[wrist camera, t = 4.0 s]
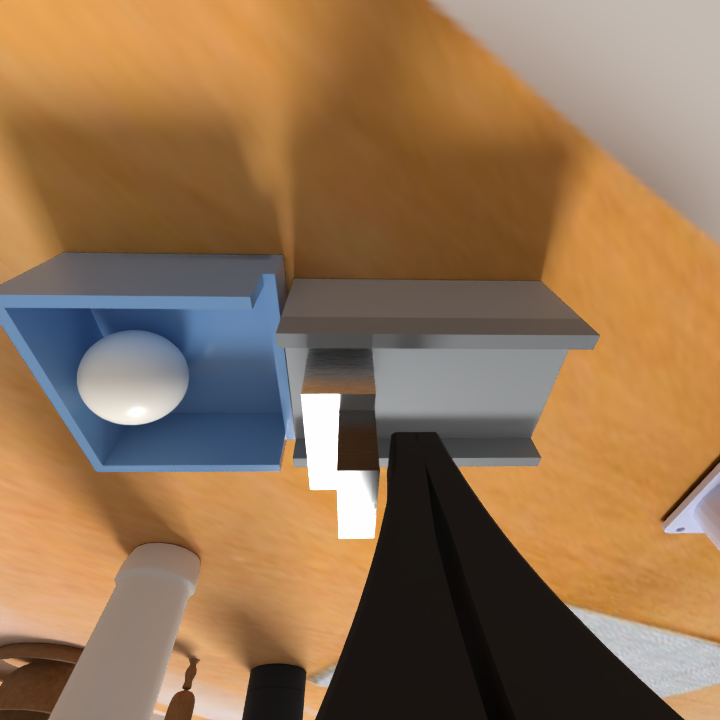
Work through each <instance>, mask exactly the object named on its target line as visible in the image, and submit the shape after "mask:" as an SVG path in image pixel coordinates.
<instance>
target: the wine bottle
mask: <svg viewBox="0 0 720 720" xmlns="http://www.w3.org/2000/svg"><path fill="white" fill-rule="evenodd" d="M305 683H306V672H305V671H304V669H302V668H300V667H296V666H292V665H285V664H271V665H263V666H259V667H256V668H254V669H253V670H252V671H251V673H250V678H249V684H248V690H247V695H246V701H245V707H244V712H243V718H242V720H303V708H304V694H305Z"/></svg>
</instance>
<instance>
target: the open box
mask: <svg viewBox="0 0 720 720" xmlns="http://www.w3.org/2000/svg"><path fill="white" fill-rule="evenodd" d="M287 298H288V294H287V285H286V275H285V266H284V256H283V255H244V254H162V253H80V252H63V253H62V254H60V255H58V256H56V257H54V258H52V259H50V260H48V261H46V262H44V263H42V264H40V265H38V266H36V267H34V268H32V269H30V270H28V271H26V272H24V273H22V274H20V275H19V276H17V277H15V278H13V279H11V280H9V281H7V282H5V283H3V284H1V285H0V324H1V326H2V327H3V329H4V330H5V332H6V333H7V335H8V337H9V338H10V340H11V341H12V343H13V344H14V346H15V347H16V349H17V350H18V352H19V354H20V355H21V357H22V358H23V360H24V361H25V363H26V364H27V366H28V367H29V369H30V370H31V372H32V374H33V375H34V377H35V378H36V380H37V381H38V383H39V384H40V386H41V387H42V389H43V391H44V392H45V394H46V395H47V397H48V398H49V400H50V401H51V403H52V404H53V406H54V408H55V409H56V411H57V412H58V414H59V415H60V417H61V418H62V420H63V421H64V423H65V424H66V426H67V428H68V429H69V431H70V432H71V434H72V435H73V437H74V438H75V440H76V441H77V443H78V445H79V446H80V448H81V449H82V451H83V452H84V454H85V455H86V457H87V458H88V460H89V461H90V463H91V465H92V466H93V468H94V469H95V471H96V472H215V471H281V465H282V460H283V455H284V450H285V445H286V440H295V439H296V433H295V425H294V417H293V409H292V401H291V392H290V384H289V376H288V368H287V360H286V352H285V348H278V347H277V340H276V331H277V328H278V325H279V322H280V319H281V316H282V313H283V310H284V307H285V304H286V301H287ZM127 330H142V331H148V332H152V333H155V334H158V335H160V336H162V337H164V338H166V339H168V340H169V341H170V342H172V343H173V344H174V345H175V346H176V347H177V348H178V349H179V350H180V351H181V353H182V354H183V356H184V358H185V360H186V362H187V366H188V370H189V382H188V387H187V390H186V393H185V395H184V397H183V399H182V400H181V402H180V403H179V404H178V405H177V407H176V408H174V409H173V410H172V411H171V412H170V413H168V414H167V415H166V416H164V417H162V418H160V419H158V420H155V421H153V422H150V423H146V424H140V425H123V424H117V423H113V422H110V421H107V420H105V419H103V418H101V417H99V416H98V415H96V414H95V413H94V412H93V411H91V410H90V409H89V408H88V407H87V405H86V404H85V403H84V401H83V400H82V398H81V396H80V393H79V391H78V386H77V371H78V367H79V364H80V362H81V360H82V358H83V356H84V355H85V353H86V352H87V351H88V350H89V348H90V347H91V346H93V345H94V344H95V343H96V342H97V341H99V340H101V339H102V338H104V337H106V336H108V335H111V334H113V333H117V332H121V331H127Z"/></svg>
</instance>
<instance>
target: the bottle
mask: <svg viewBox="0 0 720 720" xmlns="http://www.w3.org/2000/svg"><path fill="white" fill-rule="evenodd" d="M199 572H200V559H199V558H198V557H197V555H196V554H194V553H193V552H191V551H190V550H188V549H186V548H183V547H180V546H177V545H174V544H166V543H147V544H144V545H141V546H138V547H136V548H135V549H134V550H133V551H132V553H131V554H130V555H129V556H128V557H127V559H126V560H125V561H124V563H123V564H122V566H121V568H120V570H119V572H118V573H117V575H116V577H115V583H116V587H115V589H114V591H113V593H112V595H111V597H110V599H109V601H108V603H107V605H106V607H105V609H104V611H103V613H102V615H101V617H100V619H99V621H98V623H97V625H96V627H95V629H94V631H93V633H92V634H91V636H90V638H89V640H88V642H87V644H86V646H85V648H84V650H83V652H82V654H81V656H80V658H79V660H78V662H77V664H76V666H75V668H74V670H73V672H72V674H71V676H70V678H69V680H68V682H67V684H66V685H65V687H64V689H63V691H62V693H61V695H60V697H59V699H58V701H57V703H56V705H55V707H54V709H53V711H52V713H51V715H50V717H49V719H48V720H151V717H152V714H153V711H154V707H155V704H156V701H157V698H158V694H159V691H160V688H161V685H162V682H163V678H164V675H165V672H166V669H167V665H168V662H169V659H170V656H171V653H172V649H173V646H174V643H175V640H176V636H177V633H178V630H179V627H180V624H181V620H182V617H183V614H184V611H185V607H186V604H187V601H188V598H189V597H190V596H192V595H193V594H194V593H195V590H196V586H197V583H198V578H199Z"/></svg>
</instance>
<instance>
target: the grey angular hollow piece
mask: <svg viewBox="0 0 720 720" xmlns="http://www.w3.org/2000/svg"><path fill="white" fill-rule="evenodd" d="M301 400H302V409H303V419H304V429H305V439H306V449H307V459H308V469H309V479H310V489H337V503H338V538H339V539H363V538H374V535H375V523H376V511H377V498H378V486H379V474H380V467H379V455H378V442H377V429H376V417H375V403H376V388H375V377H374V365H373V354H372V348H309V350H308V356H307V362H306V368H305V373H304V379H303V385H302V391H301Z"/></svg>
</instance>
